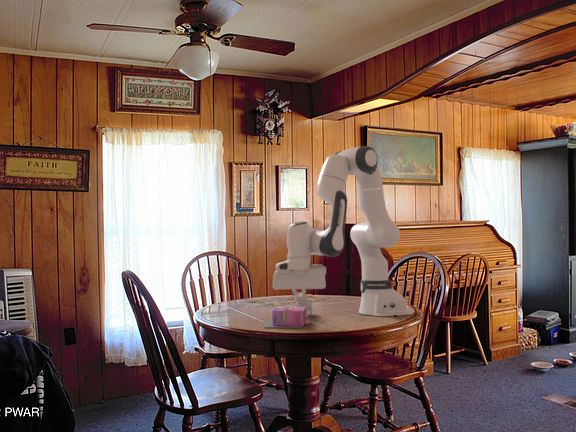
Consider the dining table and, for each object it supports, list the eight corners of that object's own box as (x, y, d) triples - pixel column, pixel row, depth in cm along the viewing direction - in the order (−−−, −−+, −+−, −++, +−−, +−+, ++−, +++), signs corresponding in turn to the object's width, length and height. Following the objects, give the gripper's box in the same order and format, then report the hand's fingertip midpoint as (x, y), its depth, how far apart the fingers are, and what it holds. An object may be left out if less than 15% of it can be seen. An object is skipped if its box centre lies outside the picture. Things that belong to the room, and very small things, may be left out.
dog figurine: (292, 319, 209) (292, 292, 209) (301, 313, 221) (300, 288, 221) (305, 319, 207) (304, 292, 207) (313, 314, 219) (312, 288, 219)
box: (303, 310, 191) (272, 310, 193) (303, 326, 191) (272, 325, 193) (307, 306, 201) (277, 306, 203) (307, 321, 201) (277, 320, 203)
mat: (300, 321, 202) (300, 320, 202) (302, 327, 190) (302, 326, 190) (264, 322, 202) (264, 321, 202) (264, 328, 190) (264, 327, 190)
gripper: (325, 263, 199) (325, 299, 199) (272, 264, 198) (272, 300, 198) (327, 264, 193) (327, 301, 192) (272, 265, 192) (272, 302, 192)
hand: (299, 301), depth 195 cm, fingers closed
